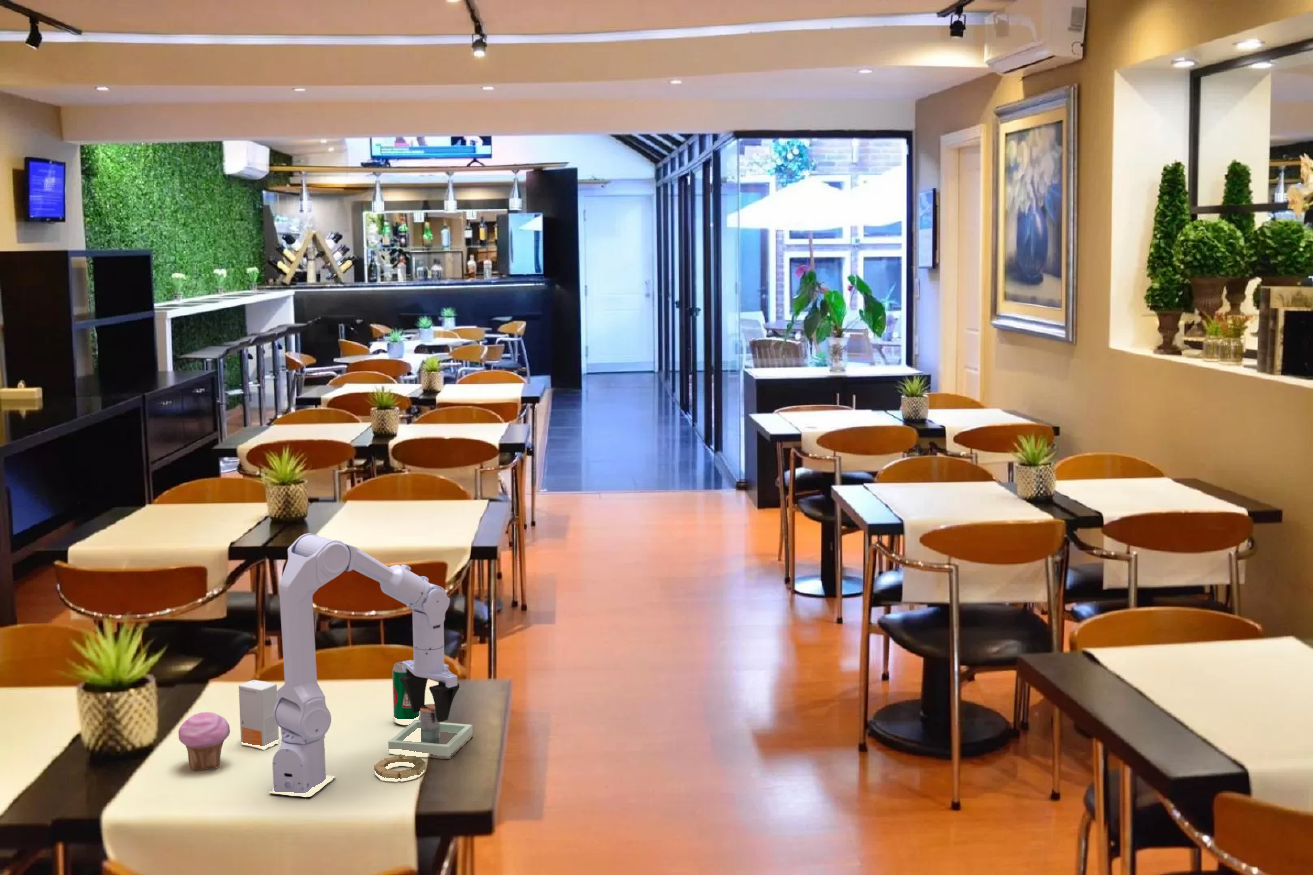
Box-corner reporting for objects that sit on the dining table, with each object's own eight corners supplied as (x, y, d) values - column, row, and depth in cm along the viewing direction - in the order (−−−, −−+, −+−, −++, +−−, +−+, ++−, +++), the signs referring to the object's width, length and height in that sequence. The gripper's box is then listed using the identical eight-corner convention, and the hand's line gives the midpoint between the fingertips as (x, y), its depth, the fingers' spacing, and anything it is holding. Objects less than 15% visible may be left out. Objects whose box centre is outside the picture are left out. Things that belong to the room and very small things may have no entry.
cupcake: (178, 777, 238) (175, 723, 237) (182, 760, 246) (179, 708, 245) (230, 772, 240) (228, 718, 239) (232, 755, 249) (230, 703, 247)
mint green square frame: (448, 759, 246) (448, 746, 246) (388, 754, 249) (388, 741, 248) (472, 737, 257) (472, 724, 257) (415, 732, 260) (414, 719, 260)
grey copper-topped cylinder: (444, 742, 253) (443, 706, 252) (429, 747, 250) (428, 711, 250) (431, 737, 256) (430, 702, 255) (416, 742, 253) (416, 707, 252)
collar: (412, 784, 234) (412, 775, 234) (367, 779, 237) (367, 771, 236) (432, 766, 243) (431, 757, 243) (388, 762, 245) (388, 753, 245)
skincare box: (240, 745, 253) (237, 684, 252) (256, 738, 257) (253, 678, 256) (264, 751, 251) (261, 689, 249) (280, 743, 254) (277, 683, 253)
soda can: (405, 728, 263) (404, 669, 261) (388, 723, 266) (386, 664, 264) (425, 721, 267) (423, 663, 265) (407, 716, 270) (405, 658, 268)
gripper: (469, 649, 248) (471, 719, 250) (422, 634, 258) (424, 702, 260) (439, 657, 243) (440, 728, 245) (392, 641, 253) (394, 710, 255)
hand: (430, 715), depth 252 cm, fingers open, 7 cm apart
